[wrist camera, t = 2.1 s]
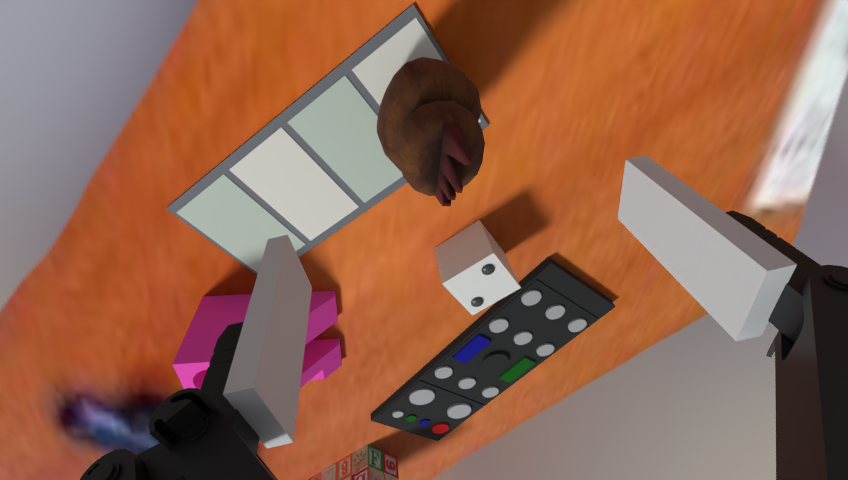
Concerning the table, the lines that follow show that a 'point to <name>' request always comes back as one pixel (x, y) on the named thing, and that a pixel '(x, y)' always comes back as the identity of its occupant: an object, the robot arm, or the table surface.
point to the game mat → (311, 156)
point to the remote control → (495, 352)
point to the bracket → (233, 309)
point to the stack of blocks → (362, 466)
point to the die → (475, 268)
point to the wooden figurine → (432, 127)
